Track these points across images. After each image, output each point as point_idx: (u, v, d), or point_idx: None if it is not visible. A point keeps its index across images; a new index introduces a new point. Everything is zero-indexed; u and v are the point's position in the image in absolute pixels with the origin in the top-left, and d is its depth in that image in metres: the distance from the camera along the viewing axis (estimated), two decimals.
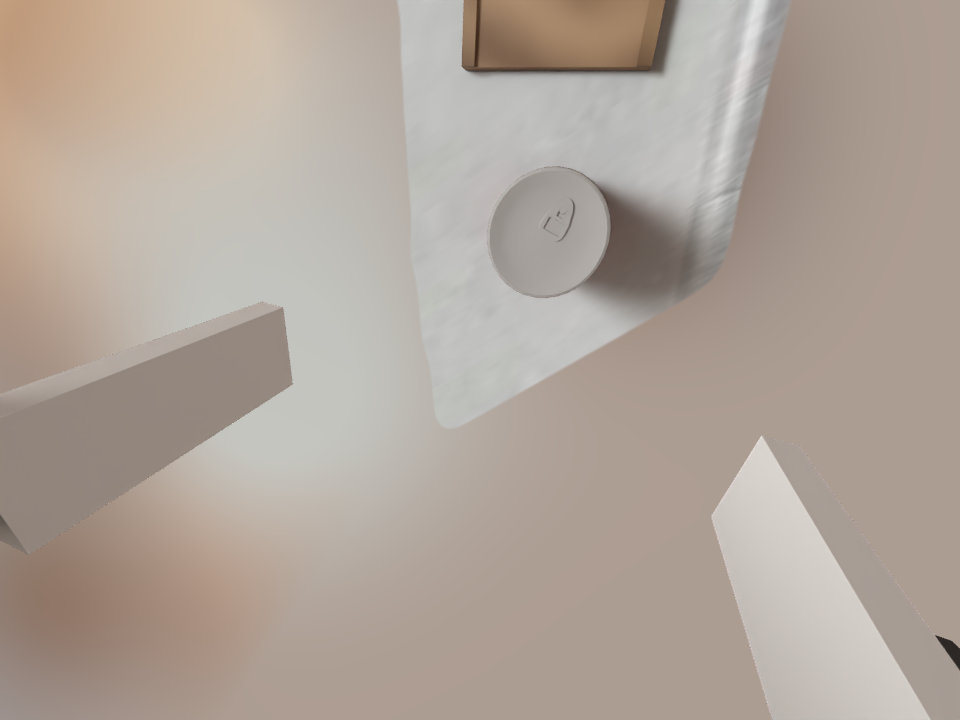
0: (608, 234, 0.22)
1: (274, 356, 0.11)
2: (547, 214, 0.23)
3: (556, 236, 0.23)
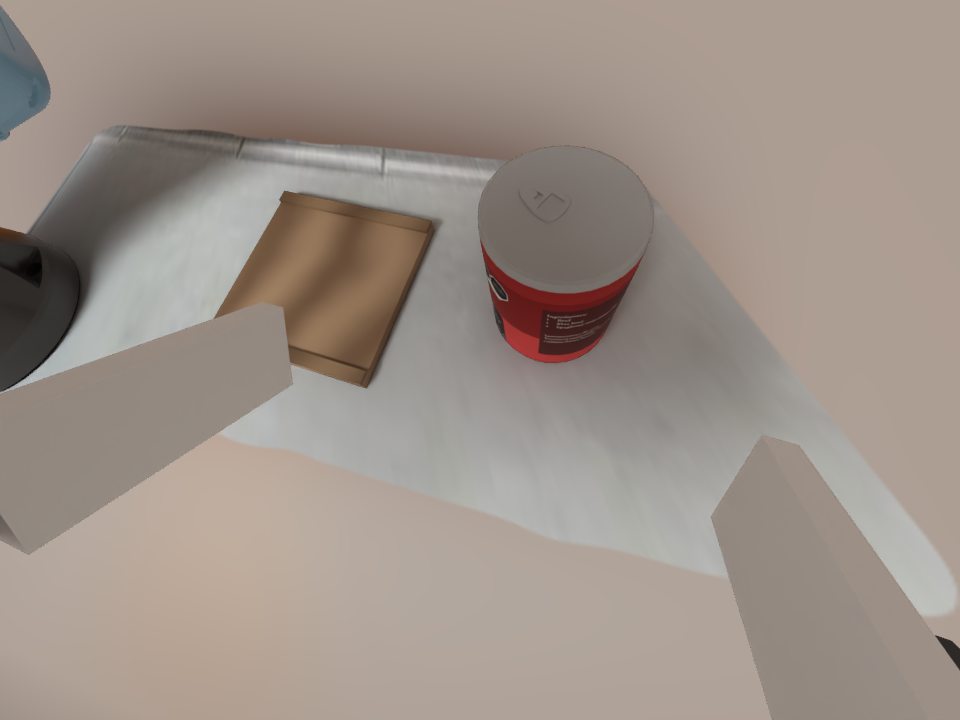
0: (572, 146, 0.18)
1: (274, 356, 0.11)
2: (533, 211, 0.17)
3: (563, 202, 0.17)
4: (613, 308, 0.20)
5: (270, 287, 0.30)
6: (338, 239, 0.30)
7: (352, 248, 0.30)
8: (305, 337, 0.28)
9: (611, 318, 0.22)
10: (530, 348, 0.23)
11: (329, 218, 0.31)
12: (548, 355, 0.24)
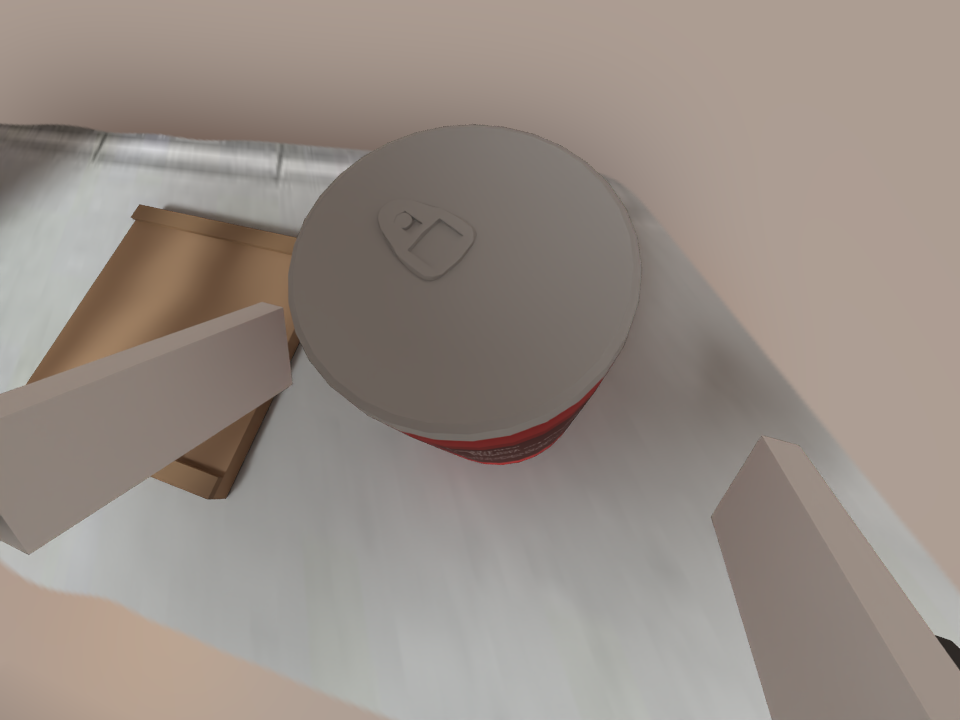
0: (483, 126, 0.09)
1: (274, 356, 0.11)
2: (402, 256, 0.09)
3: (461, 238, 0.08)
4: (575, 416, 0.11)
5: (104, 343, 0.21)
6: (204, 273, 0.22)
7: (222, 285, 0.21)
8: None
9: None
10: None
11: (196, 242, 0.22)
12: (483, 462, 0.15)
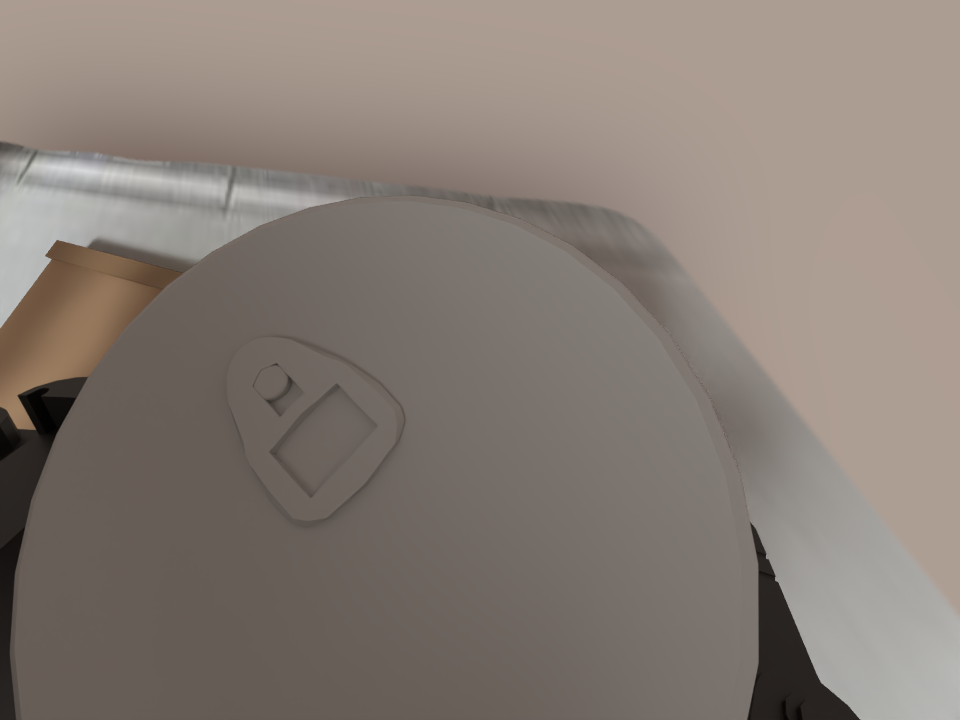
0: (428, 200, 0.05)
1: None
2: (260, 460, 0.04)
3: (372, 434, 0.04)
4: None
5: None
6: None
7: None
8: None
9: None
10: None
11: (119, 289, 0.18)
12: None
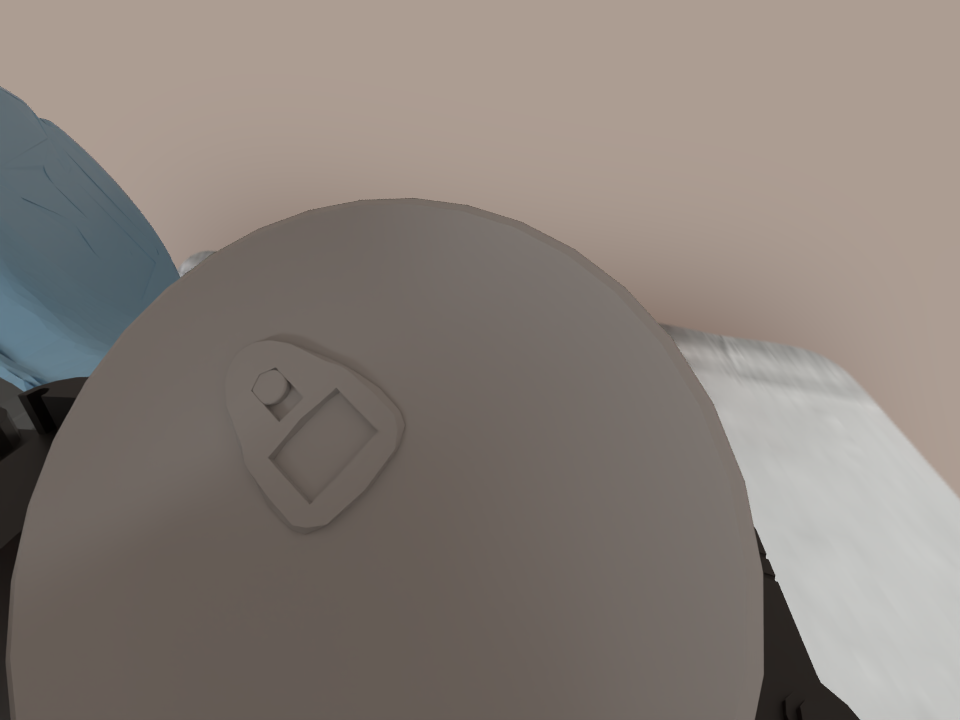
0: (428, 203, 0.05)
1: None
2: (259, 466, 0.04)
3: (371, 439, 0.04)
4: None
5: None
6: None
7: None
8: None
9: None
10: None
11: None
12: None
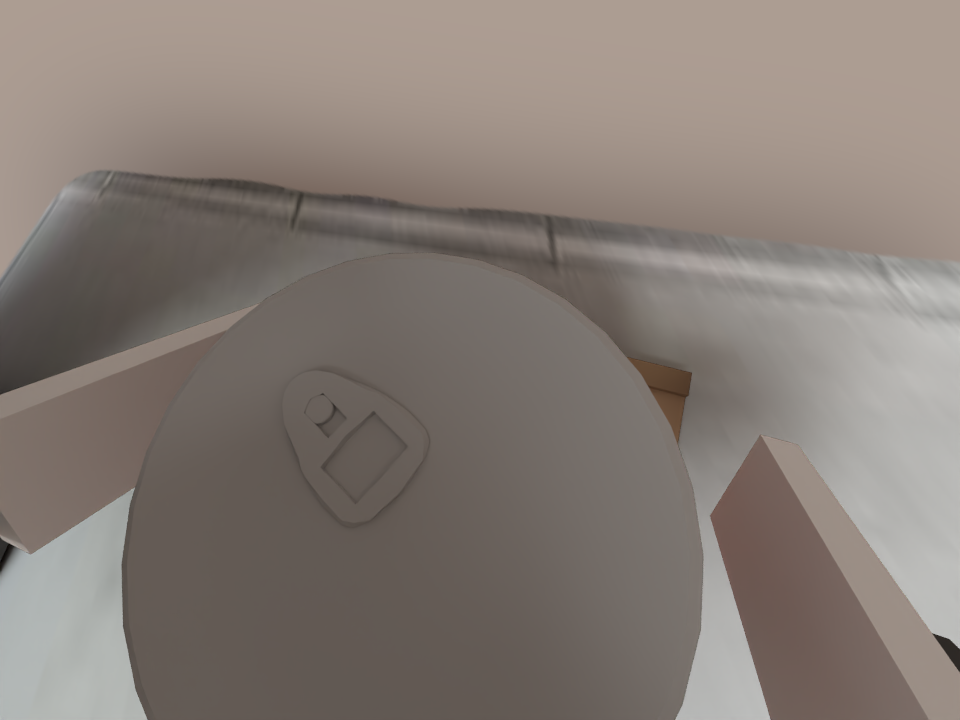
0: (446, 257, 0.06)
1: None
2: (313, 473, 0.05)
3: (403, 452, 0.05)
4: None
5: None
6: None
7: None
8: None
9: None
10: None
11: None
12: None
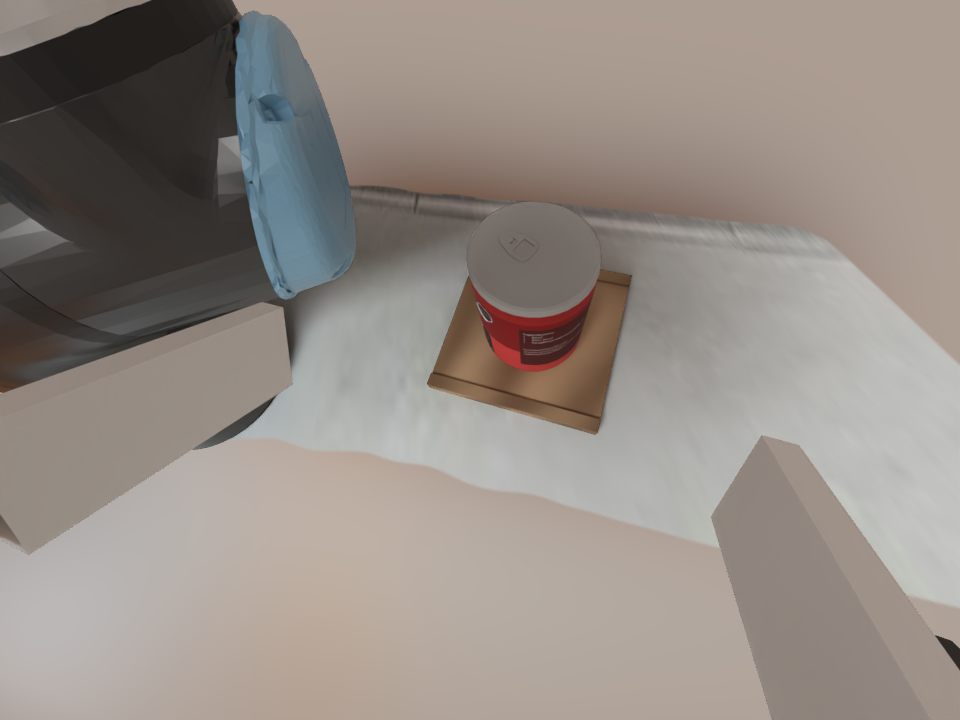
0: (540, 202, 0.23)
1: (274, 356, 0.11)
2: (510, 253, 0.22)
3: (533, 246, 0.22)
4: (577, 326, 0.24)
5: (483, 338, 0.32)
6: None
7: None
8: (530, 387, 0.30)
9: (579, 334, 0.27)
10: (514, 359, 0.28)
11: None
12: (529, 365, 0.28)
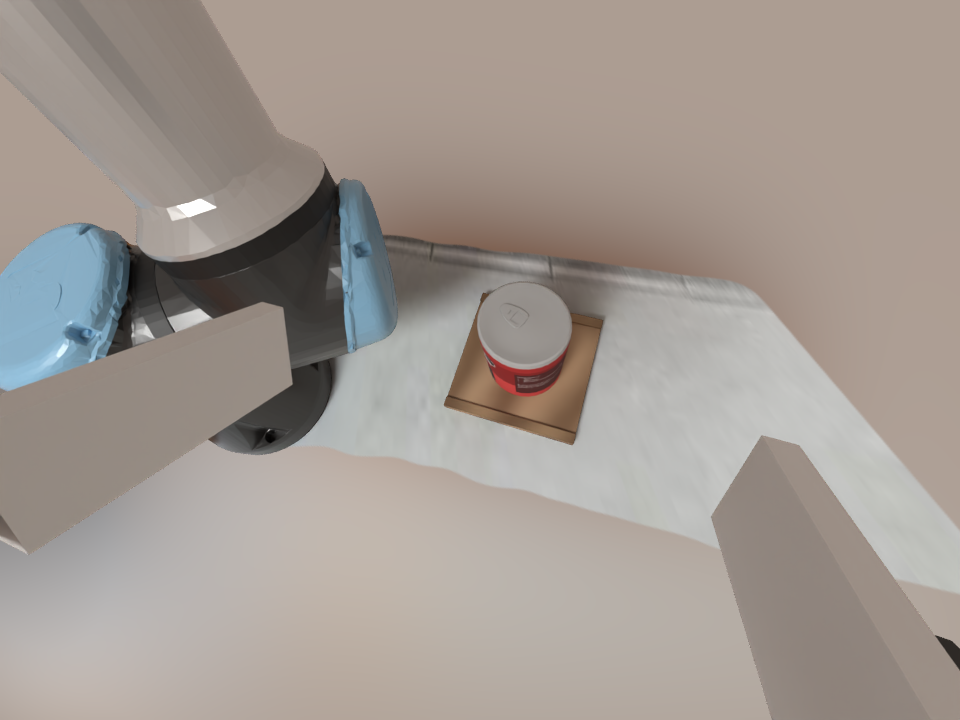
0: (530, 282, 0.32)
1: (274, 356, 0.11)
2: (508, 321, 0.31)
3: (524, 316, 0.31)
4: (557, 369, 0.33)
5: (487, 369, 0.41)
6: None
7: None
8: (523, 408, 0.39)
9: (560, 371, 0.36)
10: (510, 389, 0.37)
11: None
12: (522, 393, 0.38)
